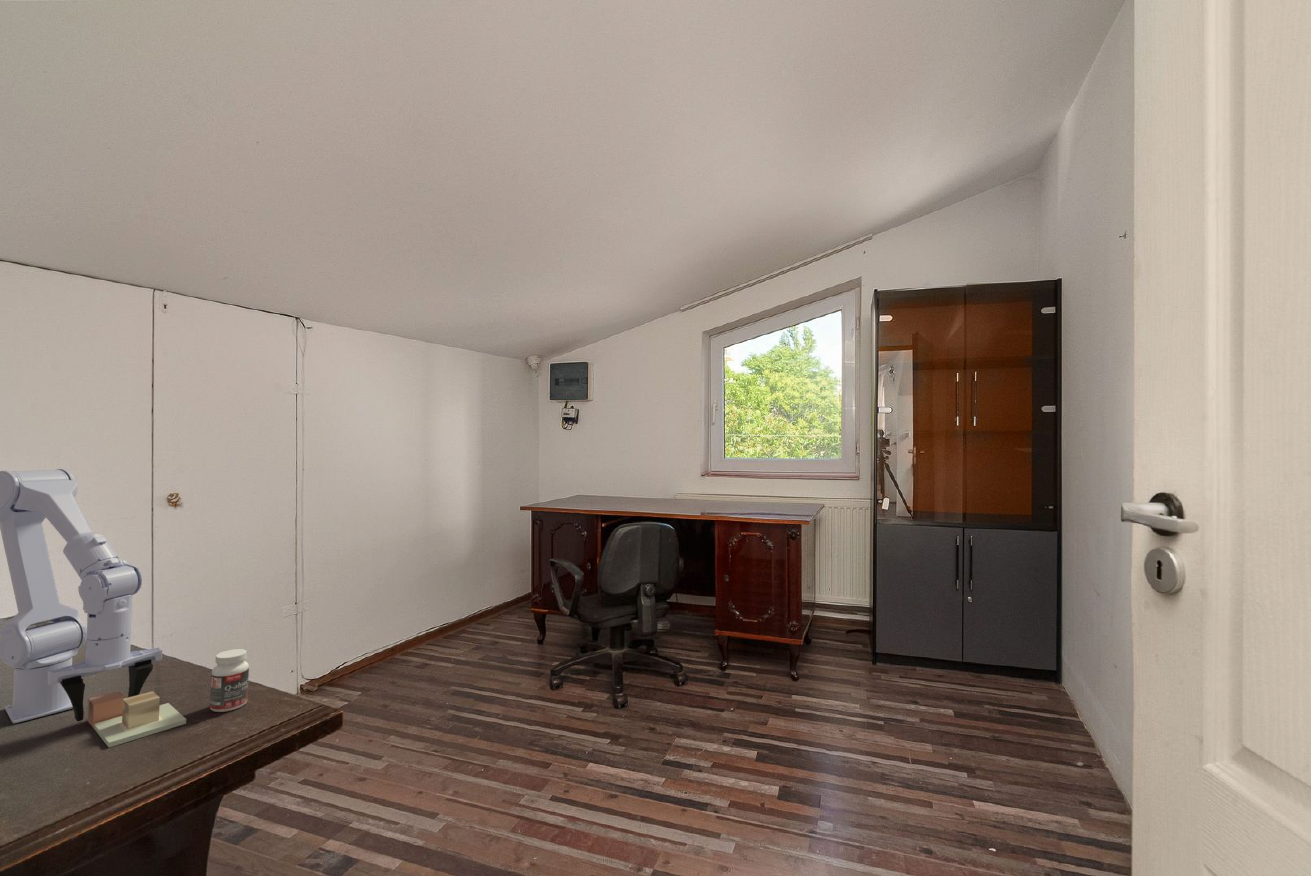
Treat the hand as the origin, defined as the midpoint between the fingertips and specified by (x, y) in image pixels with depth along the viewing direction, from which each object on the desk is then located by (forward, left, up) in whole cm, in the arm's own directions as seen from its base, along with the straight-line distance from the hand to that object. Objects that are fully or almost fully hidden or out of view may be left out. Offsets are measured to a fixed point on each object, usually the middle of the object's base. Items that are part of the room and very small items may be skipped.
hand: (106, 711), depth 100 cm
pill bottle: (+10, +15, -2) cm, 18 cm away
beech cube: (+7, +3, -1) cm, 8 cm away
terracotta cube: (0, 0, -2) cm, 2 cm away
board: (+7, +3, -1) cm, 8 cm away
